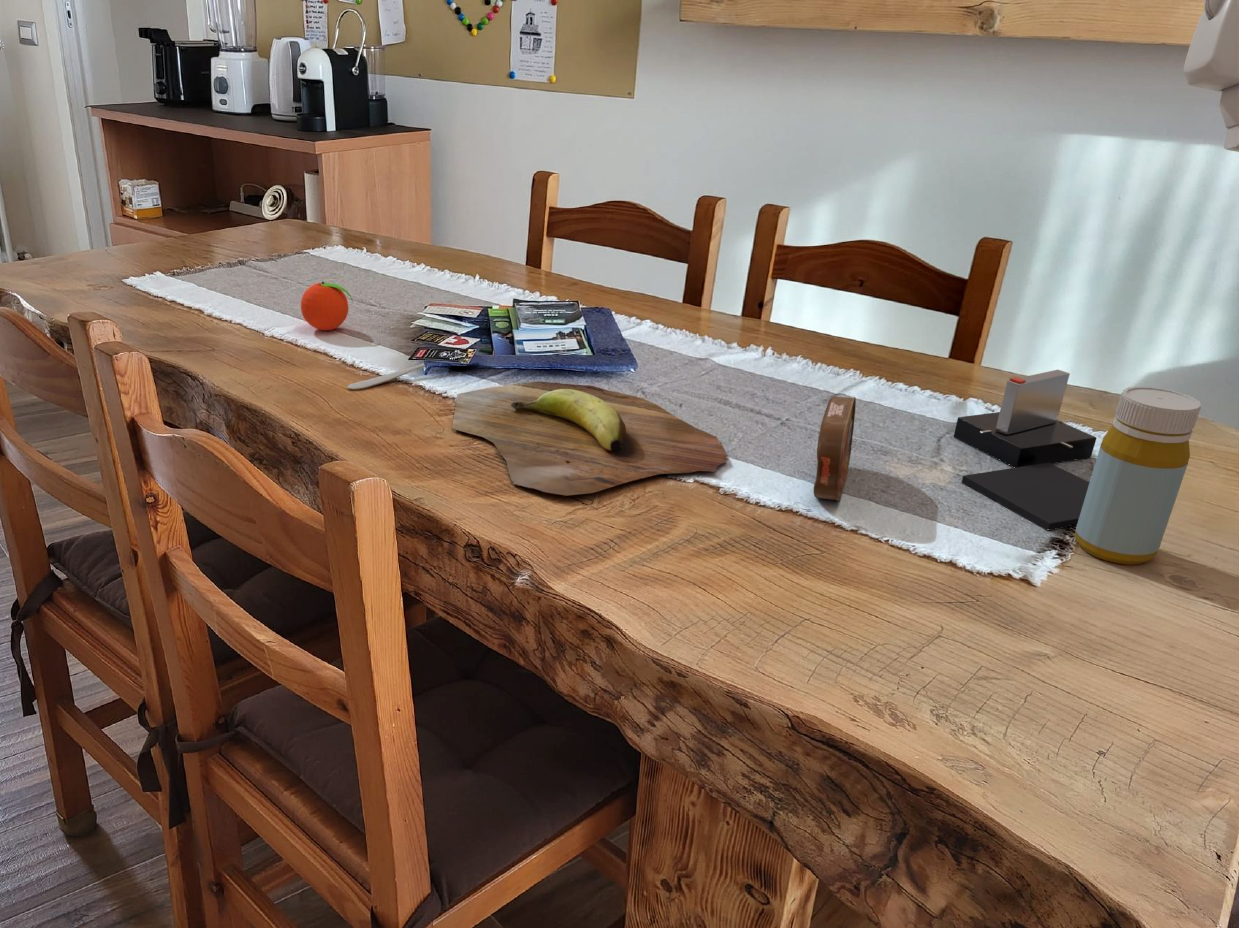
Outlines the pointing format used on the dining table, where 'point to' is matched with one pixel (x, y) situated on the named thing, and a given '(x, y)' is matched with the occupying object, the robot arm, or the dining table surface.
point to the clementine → (325, 306)
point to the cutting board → (582, 436)
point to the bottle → (1137, 475)
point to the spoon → (382, 378)
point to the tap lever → (1032, 401)
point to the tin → (834, 448)
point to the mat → (1035, 492)
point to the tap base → (1025, 441)
